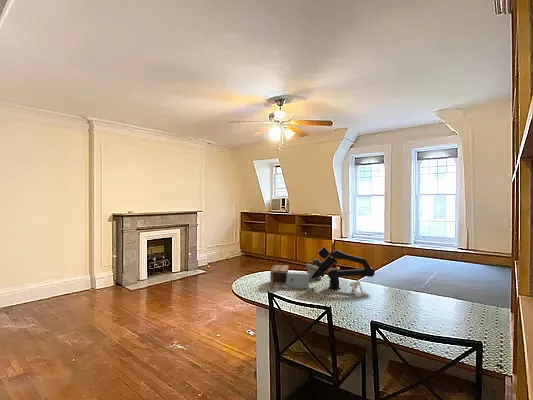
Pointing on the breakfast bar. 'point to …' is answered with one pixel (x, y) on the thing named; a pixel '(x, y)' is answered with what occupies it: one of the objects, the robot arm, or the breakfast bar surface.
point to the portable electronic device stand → (355, 289)
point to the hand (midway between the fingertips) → (311, 277)
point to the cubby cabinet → (279, 276)
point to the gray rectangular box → (298, 280)
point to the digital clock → (312, 271)
